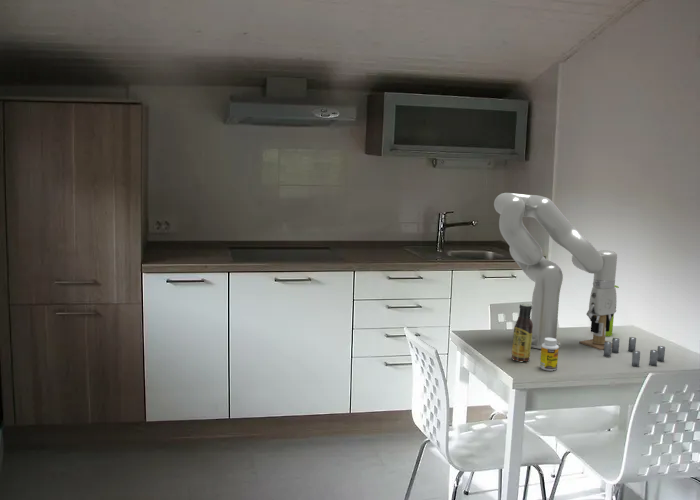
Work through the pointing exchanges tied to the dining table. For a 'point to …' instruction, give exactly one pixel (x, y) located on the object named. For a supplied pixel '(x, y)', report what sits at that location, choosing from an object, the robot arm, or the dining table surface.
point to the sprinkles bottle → (600, 331)
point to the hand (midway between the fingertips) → (599, 331)
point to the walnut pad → (591, 344)
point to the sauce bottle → (522, 334)
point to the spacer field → (634, 352)
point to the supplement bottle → (549, 354)
